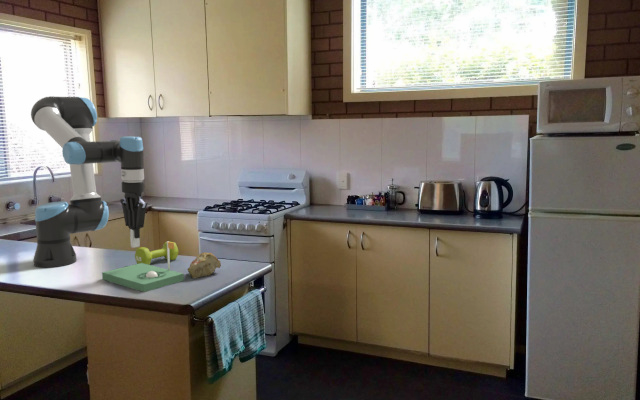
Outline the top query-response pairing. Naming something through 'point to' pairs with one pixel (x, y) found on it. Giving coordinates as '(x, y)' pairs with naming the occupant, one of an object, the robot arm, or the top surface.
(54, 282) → the top surface
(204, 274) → the rock
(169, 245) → the flag
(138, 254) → the dumbbell
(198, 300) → the top surface
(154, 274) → the ball
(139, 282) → the mat
